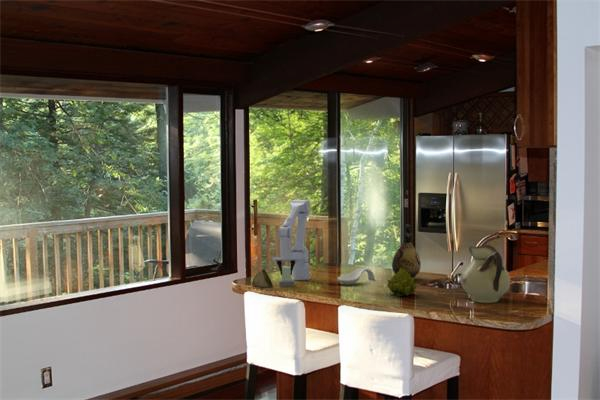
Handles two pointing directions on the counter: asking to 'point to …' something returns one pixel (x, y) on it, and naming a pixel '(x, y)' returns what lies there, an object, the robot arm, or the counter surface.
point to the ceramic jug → (407, 256)
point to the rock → (262, 279)
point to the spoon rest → (355, 276)
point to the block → (286, 272)
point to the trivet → (286, 282)
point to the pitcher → (485, 275)
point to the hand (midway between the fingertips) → (286, 274)
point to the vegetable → (402, 284)
